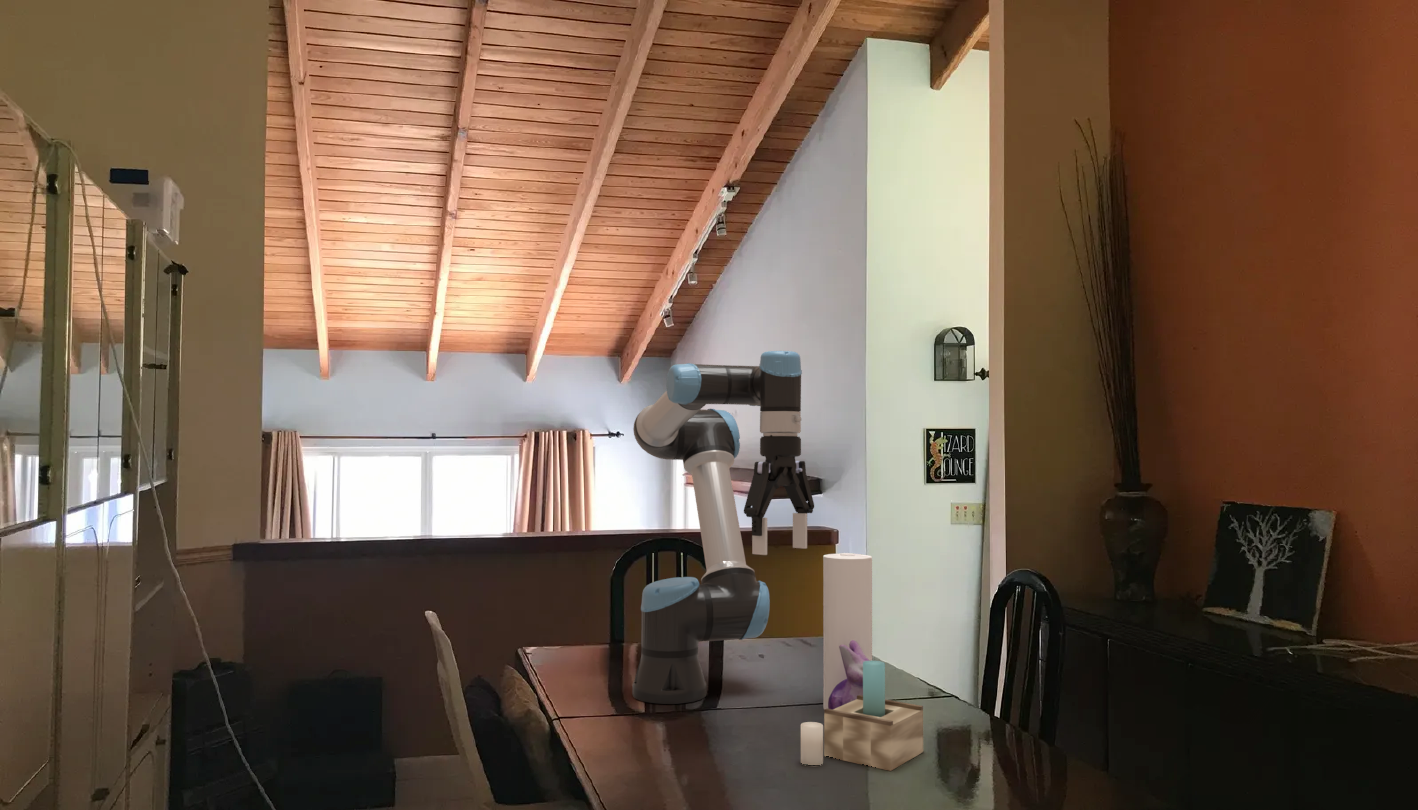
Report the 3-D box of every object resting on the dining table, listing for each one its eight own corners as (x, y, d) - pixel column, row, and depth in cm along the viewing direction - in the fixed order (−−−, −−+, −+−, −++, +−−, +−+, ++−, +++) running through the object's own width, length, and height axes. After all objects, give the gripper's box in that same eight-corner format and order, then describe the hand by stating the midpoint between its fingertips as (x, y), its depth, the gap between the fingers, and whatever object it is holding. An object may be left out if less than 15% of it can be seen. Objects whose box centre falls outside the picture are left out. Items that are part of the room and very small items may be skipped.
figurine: (878, 733, 174) (878, 648, 175) (822, 727, 178) (822, 644, 179) (887, 719, 183) (887, 638, 184) (834, 714, 187) (834, 634, 187)
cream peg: (796, 763, 158) (796, 725, 158) (808, 757, 161) (808, 720, 161) (815, 767, 156) (815, 729, 156) (827, 762, 159) (827, 724, 159)
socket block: (824, 756, 162) (824, 709, 162) (859, 738, 171) (859, 694, 172) (890, 770, 154) (890, 722, 155) (923, 751, 164) (922, 705, 164)
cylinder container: (871, 716, 185) (870, 556, 186) (821, 713, 187) (821, 555, 188) (873, 704, 194) (872, 551, 195) (825, 701, 196) (825, 550, 197)
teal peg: (859, 754, 162) (859, 663, 163) (869, 749, 165) (869, 659, 166) (879, 759, 160) (878, 666, 161) (889, 753, 163) (888, 662, 164)
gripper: (759, 434, 168) (759, 558, 168) (832, 435, 188) (832, 546, 188) (724, 434, 173) (723, 555, 172) (798, 435, 193) (798, 544, 192)
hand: (780, 551), depth 180 cm, fingers open, 13 cm apart
